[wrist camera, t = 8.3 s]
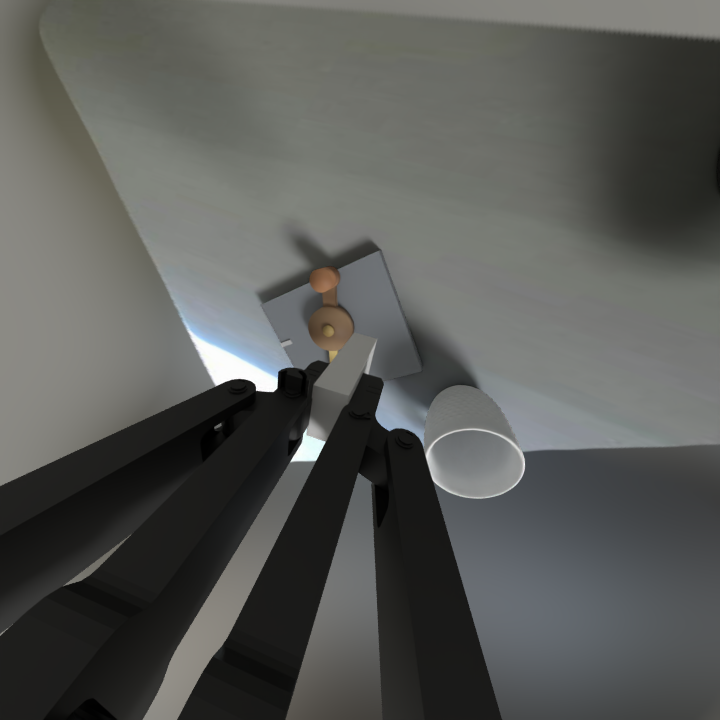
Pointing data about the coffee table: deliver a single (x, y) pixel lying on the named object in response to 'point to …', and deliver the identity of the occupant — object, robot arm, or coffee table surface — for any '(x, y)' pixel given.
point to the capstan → (329, 313)
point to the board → (368, 310)
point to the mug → (471, 444)
